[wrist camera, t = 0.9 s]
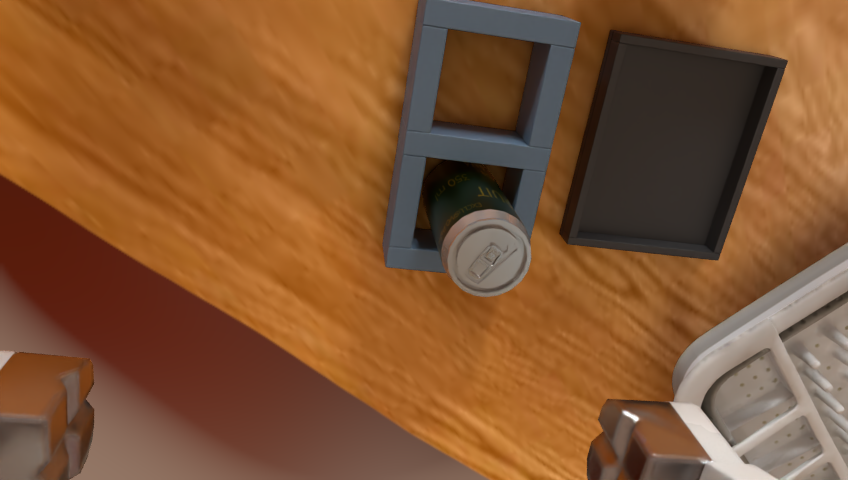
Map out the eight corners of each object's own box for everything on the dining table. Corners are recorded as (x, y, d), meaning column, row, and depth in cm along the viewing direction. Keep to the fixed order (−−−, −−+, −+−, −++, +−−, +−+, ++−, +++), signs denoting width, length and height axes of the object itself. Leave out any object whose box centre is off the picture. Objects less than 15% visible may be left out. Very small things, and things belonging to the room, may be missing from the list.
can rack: (419, -8, 46) (426, -3, 42) (562, 15, 47) (581, 22, 44) (382, 244, 53) (385, 267, 49) (508, 257, 54) (520, 280, 50)
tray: (610, 29, 48) (621, 33, 46) (771, 55, 50) (788, 60, 48) (559, 233, 54) (567, 244, 52) (705, 249, 56) (718, 260, 54)
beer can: (462, 237, 53) (494, 316, 42) (406, 197, 51) (424, 269, 40) (508, 182, 52) (554, 249, 41) (452, 140, 50) (484, 197, 39)
